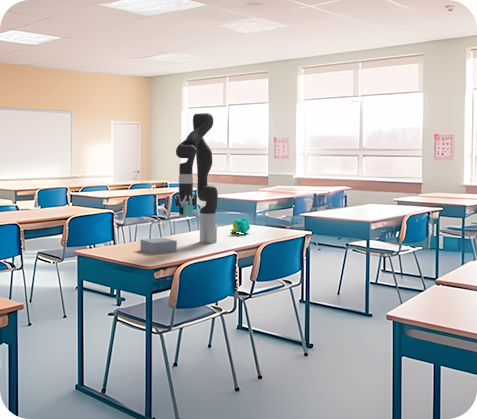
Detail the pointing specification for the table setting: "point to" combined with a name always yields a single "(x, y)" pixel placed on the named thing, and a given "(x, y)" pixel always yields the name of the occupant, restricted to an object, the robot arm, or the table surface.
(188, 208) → the teal block
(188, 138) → the robot arm
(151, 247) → the slate block
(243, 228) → the teal lumpy shape
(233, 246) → the table surface
